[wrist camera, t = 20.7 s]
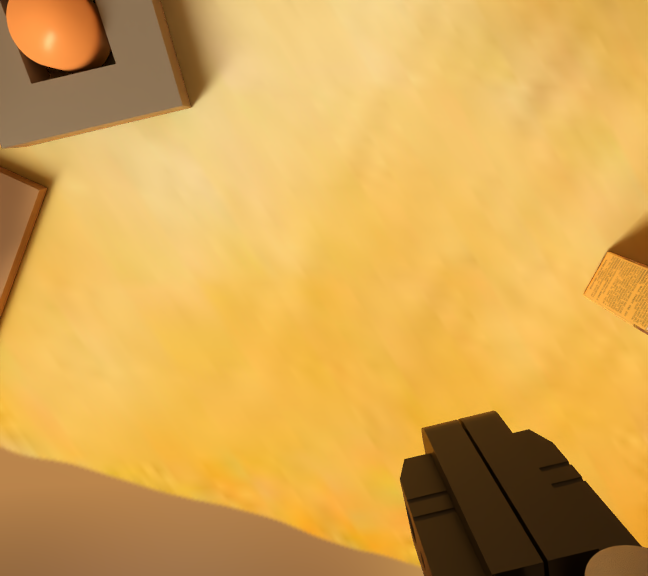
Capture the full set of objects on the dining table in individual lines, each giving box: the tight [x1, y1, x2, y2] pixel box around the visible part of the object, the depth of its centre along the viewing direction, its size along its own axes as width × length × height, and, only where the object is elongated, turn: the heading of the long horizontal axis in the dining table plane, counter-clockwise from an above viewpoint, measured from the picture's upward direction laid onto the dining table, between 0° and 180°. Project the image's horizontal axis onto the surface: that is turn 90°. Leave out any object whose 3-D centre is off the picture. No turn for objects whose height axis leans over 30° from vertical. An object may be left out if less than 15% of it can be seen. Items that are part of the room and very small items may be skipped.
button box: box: [0, 0, 191, 149], centre depth 30 cm, size 11×11×3 cm
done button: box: [6, 0, 111, 73], centre depth 29 cm, size 4×4×4 cm
